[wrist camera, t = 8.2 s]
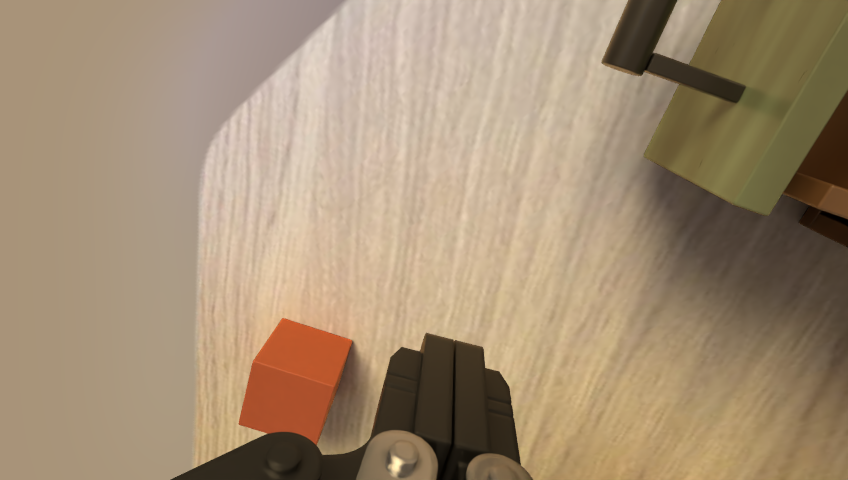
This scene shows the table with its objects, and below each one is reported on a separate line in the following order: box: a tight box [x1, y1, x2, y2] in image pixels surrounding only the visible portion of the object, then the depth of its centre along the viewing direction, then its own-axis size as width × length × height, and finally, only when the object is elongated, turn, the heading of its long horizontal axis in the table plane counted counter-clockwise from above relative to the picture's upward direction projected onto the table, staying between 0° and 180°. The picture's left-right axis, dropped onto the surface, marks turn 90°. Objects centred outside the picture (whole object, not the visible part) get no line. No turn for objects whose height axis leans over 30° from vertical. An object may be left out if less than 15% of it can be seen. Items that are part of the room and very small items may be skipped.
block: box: [239, 318, 352, 446], centre depth 26 cm, size 4×4×4 cm
